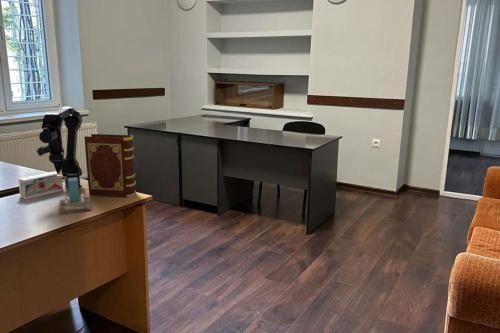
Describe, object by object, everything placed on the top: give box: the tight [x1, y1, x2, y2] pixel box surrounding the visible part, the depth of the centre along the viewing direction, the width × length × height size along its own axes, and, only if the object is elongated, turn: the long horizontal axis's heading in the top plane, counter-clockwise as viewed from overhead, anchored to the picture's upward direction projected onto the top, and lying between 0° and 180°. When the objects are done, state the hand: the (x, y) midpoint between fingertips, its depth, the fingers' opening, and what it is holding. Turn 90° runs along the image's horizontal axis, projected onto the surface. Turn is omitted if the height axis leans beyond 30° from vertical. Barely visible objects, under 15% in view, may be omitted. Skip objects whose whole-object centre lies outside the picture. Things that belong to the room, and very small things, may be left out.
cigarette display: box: [17, 170, 64, 200], centre depth 209 cm, size 20×6×9 cm, turn 143°
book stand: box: [58, 193, 92, 215], centre depth 191 cm, size 18×13×4 cm
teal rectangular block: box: [67, 177, 80, 203], centre depth 190 cm, size 6×4×12 cm, turn 23°
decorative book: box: [84, 133, 137, 198], centre depth 206 cm, size 22×8×30 cm, turn 84°
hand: (58, 171), depth 202 cm, fingers open, 9 cm apart
